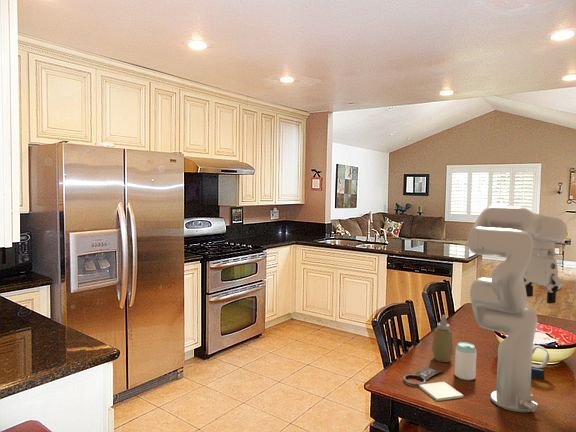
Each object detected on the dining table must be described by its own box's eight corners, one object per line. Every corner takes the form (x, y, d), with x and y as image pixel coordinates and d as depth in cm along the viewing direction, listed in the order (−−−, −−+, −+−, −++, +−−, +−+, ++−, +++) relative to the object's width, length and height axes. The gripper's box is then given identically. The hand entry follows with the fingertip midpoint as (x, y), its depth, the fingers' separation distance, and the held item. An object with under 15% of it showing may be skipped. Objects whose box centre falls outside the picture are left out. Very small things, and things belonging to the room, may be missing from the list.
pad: (463, 397, 138) (463, 395, 138) (436, 401, 135) (437, 398, 135) (444, 383, 148) (444, 381, 148) (419, 387, 145) (419, 384, 145)
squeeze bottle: (454, 364, 165) (456, 319, 164) (433, 362, 166) (434, 317, 165) (451, 356, 173) (452, 313, 172) (430, 354, 174) (431, 311, 173)
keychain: (446, 375, 156) (446, 370, 156) (418, 390, 144) (418, 384, 143) (427, 368, 162) (427, 363, 162) (398, 382, 149) (398, 376, 149)
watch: (522, 370, 160) (523, 341, 160) (547, 374, 157) (548, 345, 157) (524, 376, 155) (525, 346, 155) (549, 380, 152) (551, 350, 151)
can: (479, 378, 153) (480, 345, 152) (468, 383, 149) (469, 349, 148) (461, 371, 158) (463, 340, 158) (450, 375, 155) (451, 343, 154)
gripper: (571, 256, 146) (569, 305, 147) (530, 249, 163) (528, 293, 164) (554, 257, 144) (552, 306, 145) (514, 250, 161) (512, 294, 162)
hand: (539, 299), depth 155 cm, fingers open, 9 cm apart
